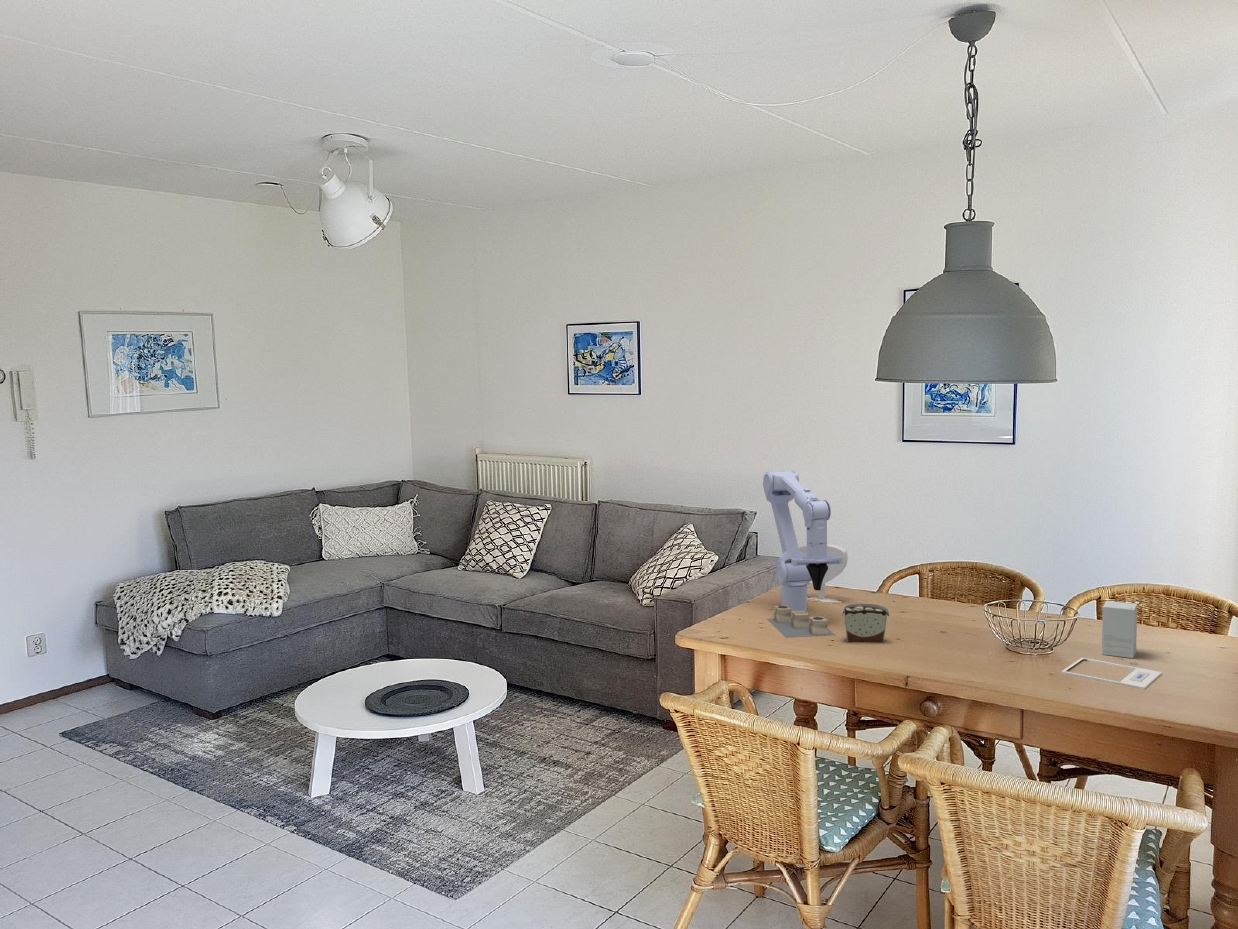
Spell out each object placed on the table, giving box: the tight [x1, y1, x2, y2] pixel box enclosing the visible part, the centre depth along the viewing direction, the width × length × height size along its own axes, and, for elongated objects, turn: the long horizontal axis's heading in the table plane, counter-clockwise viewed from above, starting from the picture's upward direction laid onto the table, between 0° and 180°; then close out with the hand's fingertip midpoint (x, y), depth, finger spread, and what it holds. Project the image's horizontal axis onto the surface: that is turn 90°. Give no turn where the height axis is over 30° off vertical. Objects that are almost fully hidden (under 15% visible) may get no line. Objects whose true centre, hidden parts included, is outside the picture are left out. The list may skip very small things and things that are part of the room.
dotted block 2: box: [809, 616, 829, 635], centre depth 263 cm, size 4×4×4 cm
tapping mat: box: [766, 617, 836, 639], centre depth 270 cm, size 20×14×1 cm
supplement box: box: [1101, 600, 1138, 659], centre depth 243 cm, size 7×7×13 cm
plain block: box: [791, 611, 810, 629], centre depth 269 cm, size 4×4×4 cm
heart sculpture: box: [799, 544, 849, 603], centre depth 302 cm, size 16×5×18 cm, turn 61°
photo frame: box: [1061, 657, 1163, 690], centre depth 227 cm, size 15×1×18 cm
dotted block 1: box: [773, 605, 792, 623], centre depth 276 cm, size 4×4×4 cm
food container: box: [841, 603, 890, 644], centre depth 256 cm, size 12×6×10 cm, turn 84°
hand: (817, 589), depth 273 cm, fingers closed
